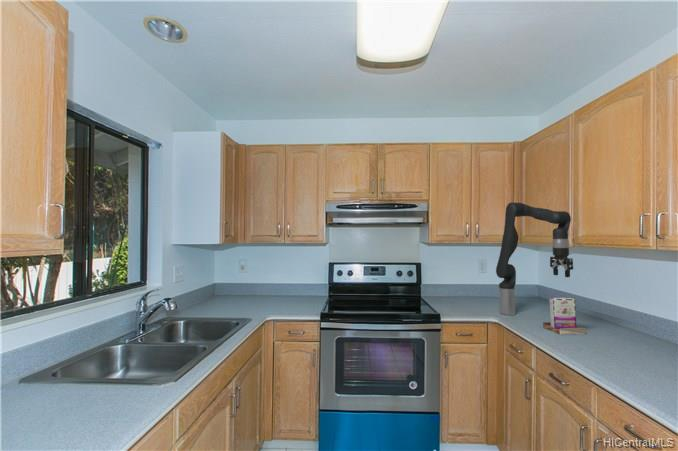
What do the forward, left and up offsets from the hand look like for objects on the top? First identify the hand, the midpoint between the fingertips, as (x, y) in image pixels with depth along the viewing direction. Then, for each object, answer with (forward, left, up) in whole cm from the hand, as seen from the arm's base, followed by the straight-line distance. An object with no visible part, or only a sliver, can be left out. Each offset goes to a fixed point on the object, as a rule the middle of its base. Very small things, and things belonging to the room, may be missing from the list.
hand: (561, 276), depth 180 cm
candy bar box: (0, 0, -29) cm, 29 cm away
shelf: (0, 0, -30) cm, 30 cm away
